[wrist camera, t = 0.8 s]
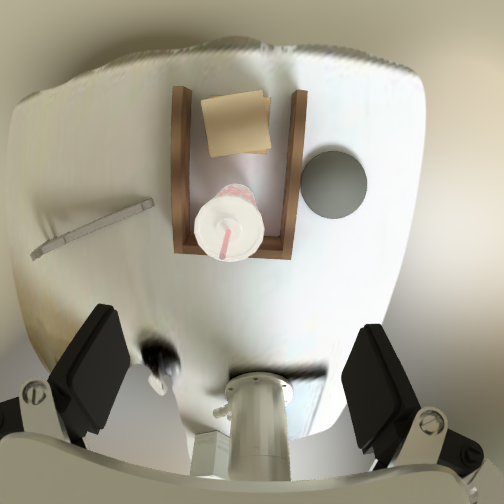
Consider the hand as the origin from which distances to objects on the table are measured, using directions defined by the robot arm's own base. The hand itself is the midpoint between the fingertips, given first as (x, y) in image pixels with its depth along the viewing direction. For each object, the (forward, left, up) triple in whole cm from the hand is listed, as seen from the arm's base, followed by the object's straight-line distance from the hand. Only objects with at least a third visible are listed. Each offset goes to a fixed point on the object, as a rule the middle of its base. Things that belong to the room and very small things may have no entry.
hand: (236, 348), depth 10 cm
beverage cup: (-2, 0, -24) cm, 24 cm away
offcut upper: (+4, +7, -21) cm, 23 cm away
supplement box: (-42, -42, -24) cm, 64 cm away
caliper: (-19, +10, -24) cm, 33 cm away
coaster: (+9, -5, -24) cm, 26 cm away
